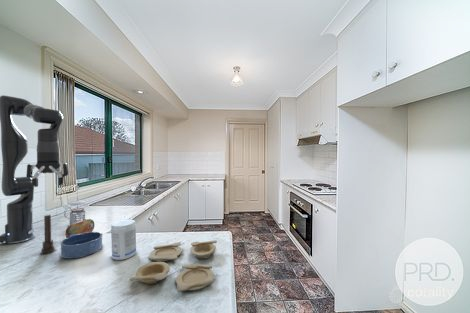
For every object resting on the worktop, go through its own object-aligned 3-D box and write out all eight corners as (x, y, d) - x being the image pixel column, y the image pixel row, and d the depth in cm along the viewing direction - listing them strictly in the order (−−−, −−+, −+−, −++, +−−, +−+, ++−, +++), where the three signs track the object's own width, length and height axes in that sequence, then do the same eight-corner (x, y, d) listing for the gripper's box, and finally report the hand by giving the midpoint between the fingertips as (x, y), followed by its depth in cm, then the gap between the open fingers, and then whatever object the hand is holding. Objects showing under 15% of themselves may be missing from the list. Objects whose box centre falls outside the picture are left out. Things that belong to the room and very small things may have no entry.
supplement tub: (136, 248, 96) (136, 217, 96) (136, 257, 87) (135, 224, 87) (112, 252, 92) (112, 220, 92) (110, 262, 83) (109, 227, 83)
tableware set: (156, 246, 98) (156, 238, 98) (217, 245, 99) (217, 236, 99) (119, 298, 63) (119, 285, 63) (213, 294, 64) (213, 281, 64)
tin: (69, 242, 102) (68, 226, 102) (64, 242, 103) (63, 225, 103) (95, 231, 117) (94, 217, 117) (90, 231, 118) (90, 216, 118)
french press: (90, 223, 130) (89, 185, 130) (67, 229, 121) (67, 188, 120) (83, 221, 136) (82, 184, 135) (61, 226, 126) (61, 186, 126)
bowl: (56, 262, 83) (56, 248, 83) (65, 248, 97) (65, 235, 97) (100, 254, 91) (100, 240, 91) (103, 241, 104) (103, 229, 104)
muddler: (39, 255, 90) (39, 217, 90) (43, 250, 94) (42, 214, 94) (52, 252, 92) (52, 215, 92) (55, 248, 96) (55, 213, 96)
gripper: (69, 151, 101) (69, 183, 101) (30, 151, 94) (31, 185, 94) (65, 151, 94) (65, 185, 94) (23, 151, 87) (24, 188, 88)
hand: (48, 185), depth 94 cm, fingers open, 8 cm apart
